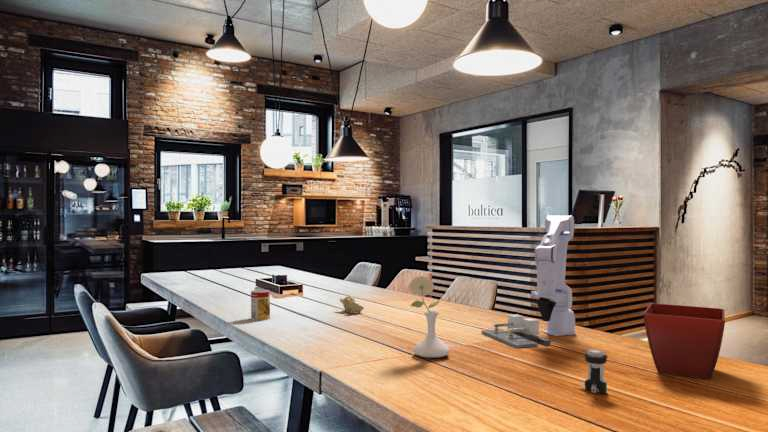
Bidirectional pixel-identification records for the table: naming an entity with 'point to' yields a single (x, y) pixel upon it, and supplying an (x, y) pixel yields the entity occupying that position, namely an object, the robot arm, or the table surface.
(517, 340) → the bolt hole plate
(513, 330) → the sliding divider leg
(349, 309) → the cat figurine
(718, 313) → the plant pot
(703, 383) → the table surface
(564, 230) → the robot arm
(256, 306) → the canned food
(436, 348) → the flower in vase
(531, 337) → the bar
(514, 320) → the fixed divider leg
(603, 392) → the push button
